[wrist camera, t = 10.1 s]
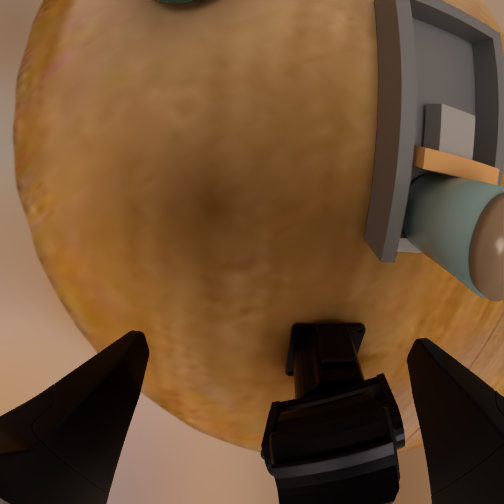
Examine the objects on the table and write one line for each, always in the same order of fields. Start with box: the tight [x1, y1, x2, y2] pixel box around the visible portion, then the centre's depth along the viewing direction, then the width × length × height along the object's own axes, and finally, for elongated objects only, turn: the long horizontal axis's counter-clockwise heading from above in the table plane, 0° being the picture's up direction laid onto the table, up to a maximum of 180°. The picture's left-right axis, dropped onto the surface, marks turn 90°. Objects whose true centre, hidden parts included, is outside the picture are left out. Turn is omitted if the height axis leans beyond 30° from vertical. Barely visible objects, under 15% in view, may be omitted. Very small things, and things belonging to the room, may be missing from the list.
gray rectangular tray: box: [364, 0, 504, 262], centre depth 13 cm, size 18×9×4 cm, turn 179°
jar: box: [403, 173, 504, 301], centre depth 12 cm, size 6×6×8 cm
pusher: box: [412, 104, 499, 185], centre depth 13 cm, size 4×7×3 cm, turn 89°
